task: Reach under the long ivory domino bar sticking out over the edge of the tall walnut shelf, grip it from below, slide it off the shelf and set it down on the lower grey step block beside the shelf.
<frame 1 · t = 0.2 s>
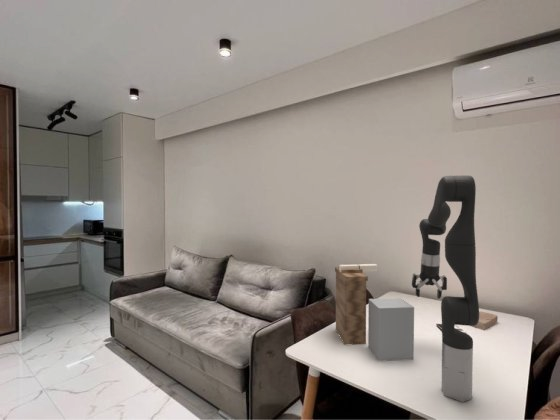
hand: (428, 297, 142), 22 cm above the table, fingers open, 8 cm apart
walnut shelf: (350, 336, 151), on the table
grey step block: (390, 352, 135), on the table
brick: (482, 325, 166), on the table
domino bar: (358, 271, 151), point 32 cm above the table, touching walnut shelf
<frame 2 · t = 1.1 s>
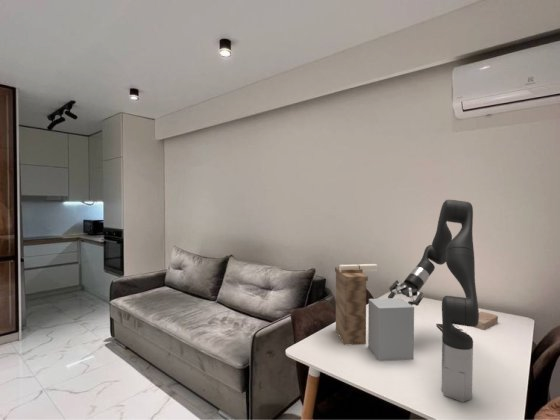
hand: (397, 304, 141), 19 cm above the table, fingers open, 8 cm apart
nothing on the table moved.
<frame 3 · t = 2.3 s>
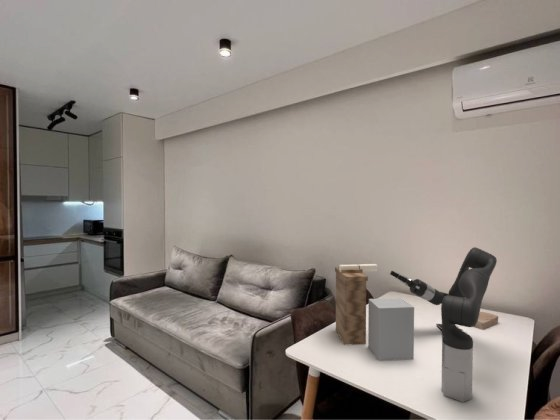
hand: (394, 274, 152), 30 cm above the table, fingers open, 8 cm apart
nothing on the table moved.
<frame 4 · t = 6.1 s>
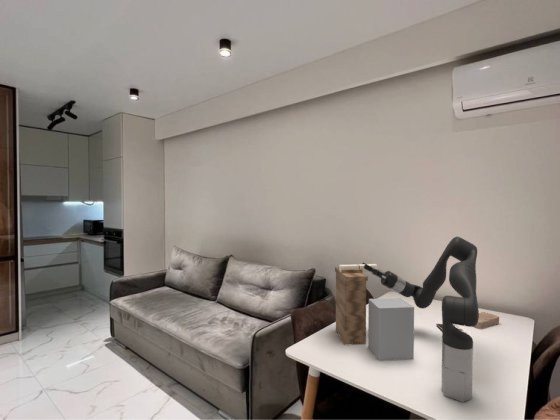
hand: (363, 265, 151), 35 cm above the table, fingers closed on domino bar, 3 cm apart
domino bar: (358, 271, 151), point 32 cm above the table, touching gripper, walnut shelf
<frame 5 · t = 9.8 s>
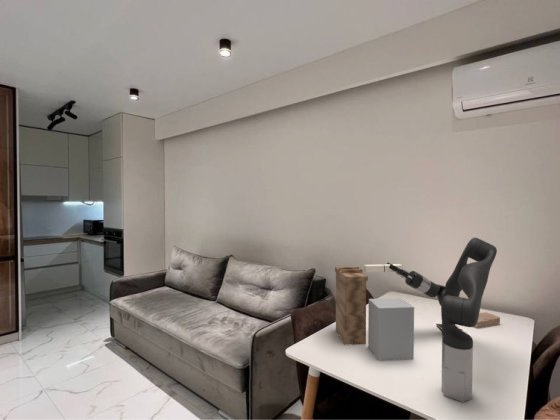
hand: (388, 265, 150), 35 cm above the table, fingers closed on domino bar, 3 cm apart
domino bar: (383, 271, 150), point 32 cm above the table, touching gripper
when the fingers open (27 cm above the table, at t = 13.8 s): domino bar drops 2 cm, resting on grey step block.
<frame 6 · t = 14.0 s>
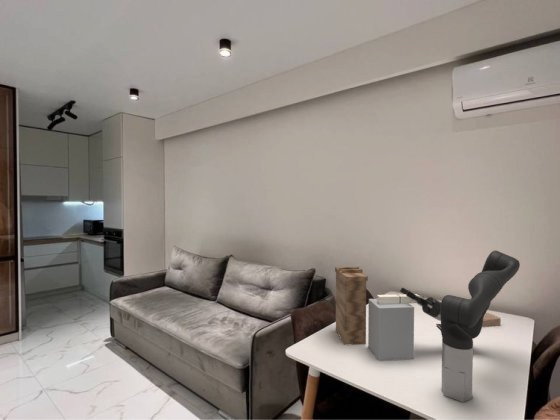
hand: (404, 291, 135), 27 cm above the table, fingers open, 5 cm apart
domino bar: (398, 302, 135), point 22 cm above the table, touching grey step block
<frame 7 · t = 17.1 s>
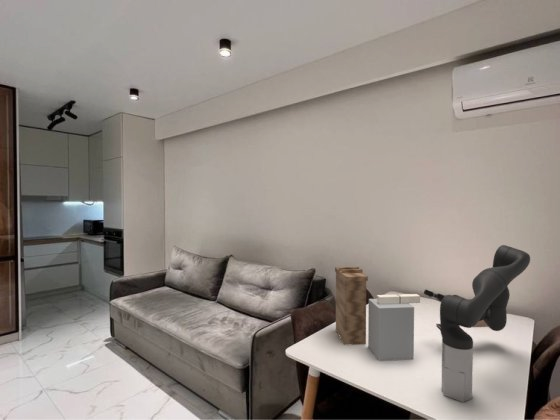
hand: (430, 293, 135), 26 cm above the table, fingers open, 8 cm apart
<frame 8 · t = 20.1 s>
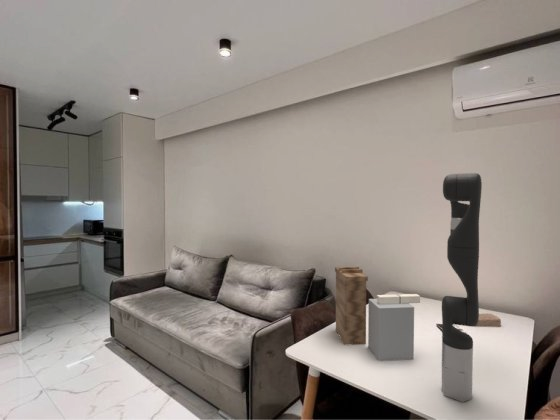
hand: (459, 266, 132), 38 cm above the table, fingers open, 8 cm apart
at the end: domino bar touching grey step block; the gripper is holding nothing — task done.
